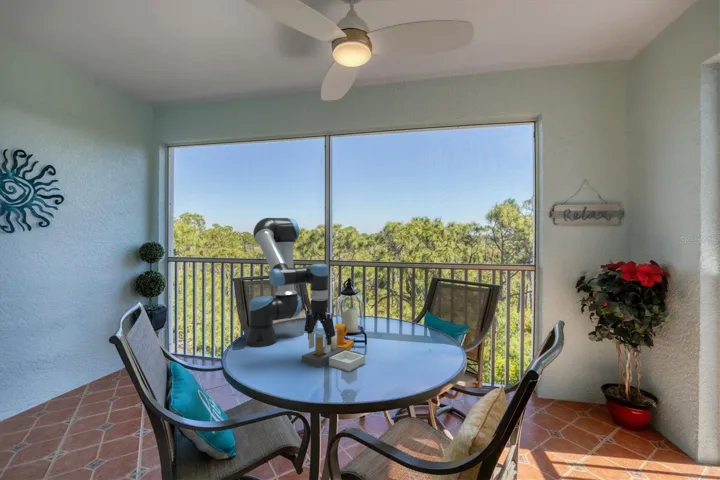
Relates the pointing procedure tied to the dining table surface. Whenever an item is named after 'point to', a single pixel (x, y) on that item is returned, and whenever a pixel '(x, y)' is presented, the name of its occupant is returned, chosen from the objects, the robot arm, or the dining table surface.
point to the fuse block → (324, 359)
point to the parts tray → (347, 361)
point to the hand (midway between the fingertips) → (319, 349)
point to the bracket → (340, 337)
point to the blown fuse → (319, 344)
